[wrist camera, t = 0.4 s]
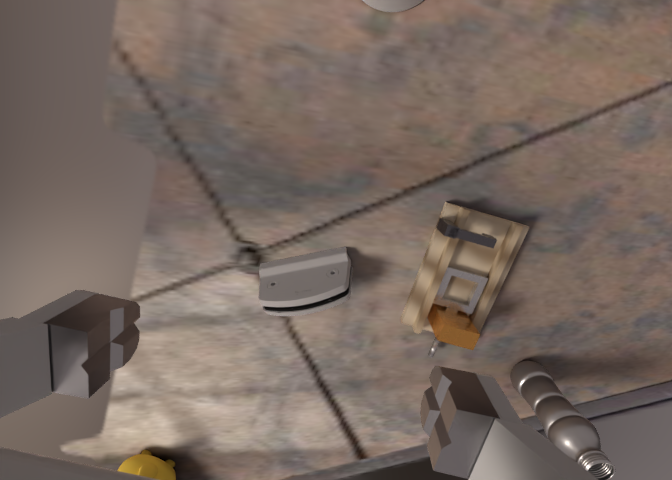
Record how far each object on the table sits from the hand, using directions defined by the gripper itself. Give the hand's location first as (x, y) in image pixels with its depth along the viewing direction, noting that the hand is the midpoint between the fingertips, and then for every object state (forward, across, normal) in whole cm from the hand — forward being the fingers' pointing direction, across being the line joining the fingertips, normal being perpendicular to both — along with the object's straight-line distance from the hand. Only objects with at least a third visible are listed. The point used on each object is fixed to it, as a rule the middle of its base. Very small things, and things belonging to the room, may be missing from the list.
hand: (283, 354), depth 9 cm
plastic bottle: (+47, -42, +28) cm, 68 cm away
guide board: (+46, -24, +11) cm, 53 cm away
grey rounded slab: (+47, +3, +18) cm, 50 cm away
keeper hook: (+45, -21, +3) cm, 49 cm away
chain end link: (+45, -23, +19) cm, 54 cm away
